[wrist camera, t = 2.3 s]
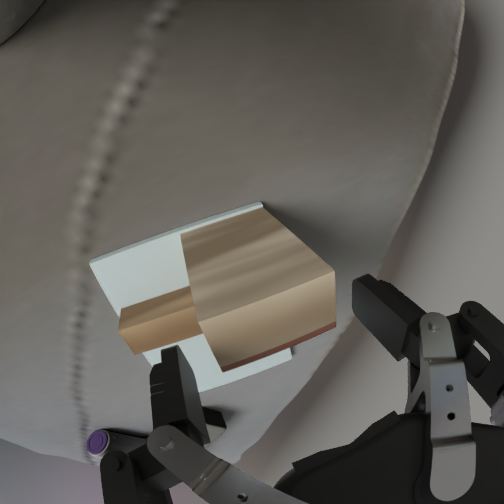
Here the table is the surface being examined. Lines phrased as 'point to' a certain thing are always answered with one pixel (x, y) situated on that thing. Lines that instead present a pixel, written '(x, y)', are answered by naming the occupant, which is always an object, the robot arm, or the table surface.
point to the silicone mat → (164, 281)
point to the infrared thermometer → (110, 441)
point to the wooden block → (256, 287)
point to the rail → (159, 321)
